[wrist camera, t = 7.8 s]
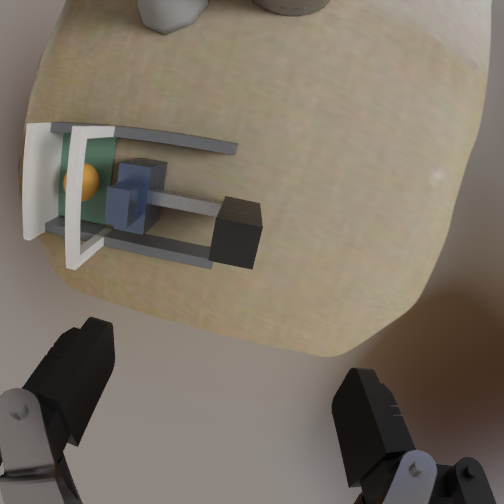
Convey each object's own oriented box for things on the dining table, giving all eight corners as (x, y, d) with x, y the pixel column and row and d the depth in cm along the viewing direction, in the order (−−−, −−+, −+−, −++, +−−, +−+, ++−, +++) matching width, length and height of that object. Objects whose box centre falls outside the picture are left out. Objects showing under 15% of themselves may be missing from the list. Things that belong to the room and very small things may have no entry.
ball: (74, 167, 23) (108, 165, 27) (59, 161, 25) (90, 159, 28) (72, 208, 25) (104, 203, 28) (56, 198, 26) (86, 194, 30)
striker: (139, 157, 28) (86, 171, 18) (262, 180, 29) (268, 205, 19) (132, 214, 30) (83, 252, 20) (249, 237, 31) (247, 288, 21)
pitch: (59, 122, 26) (7, 124, 18) (238, 143, 28) (231, 146, 19) (52, 222, 30) (6, 249, 22) (214, 257, 32) (202, 301, 24)
